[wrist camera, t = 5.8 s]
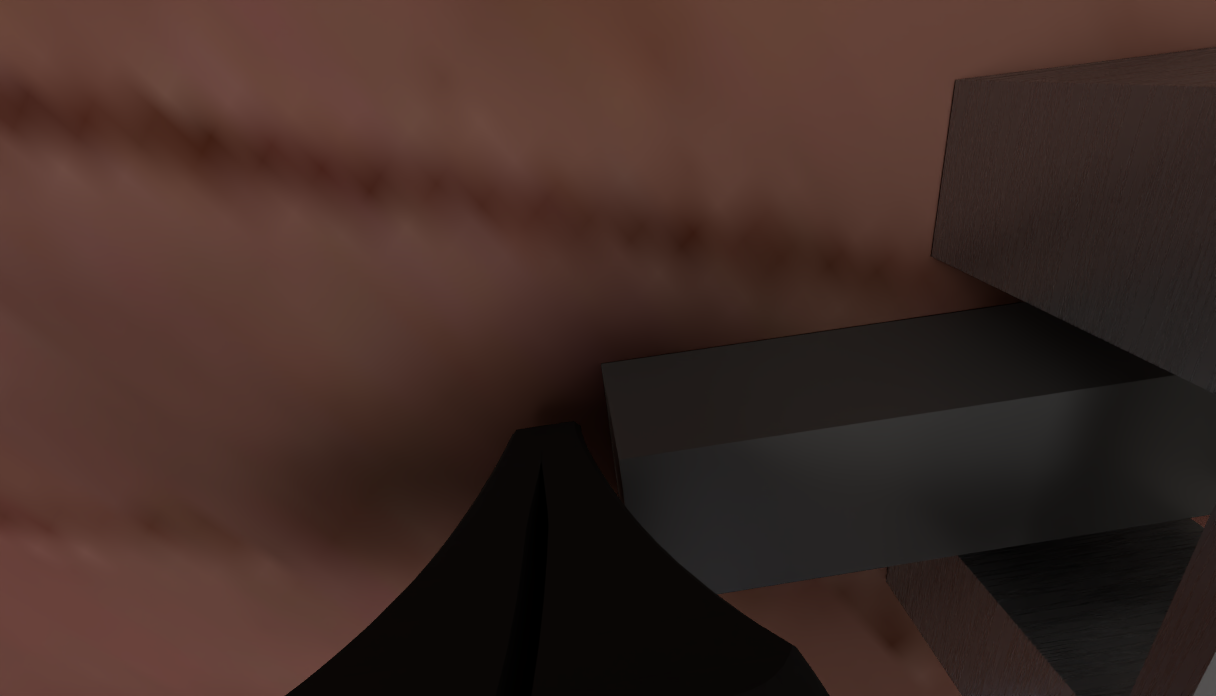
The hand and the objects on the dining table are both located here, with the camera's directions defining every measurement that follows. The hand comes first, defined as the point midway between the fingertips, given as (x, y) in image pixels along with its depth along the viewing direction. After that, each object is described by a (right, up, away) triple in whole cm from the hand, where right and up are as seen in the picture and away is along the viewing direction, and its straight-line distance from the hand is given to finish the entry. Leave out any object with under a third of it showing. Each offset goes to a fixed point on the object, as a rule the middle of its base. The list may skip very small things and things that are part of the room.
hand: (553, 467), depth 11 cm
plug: (+9, +2, +1) cm, 10 cm away
